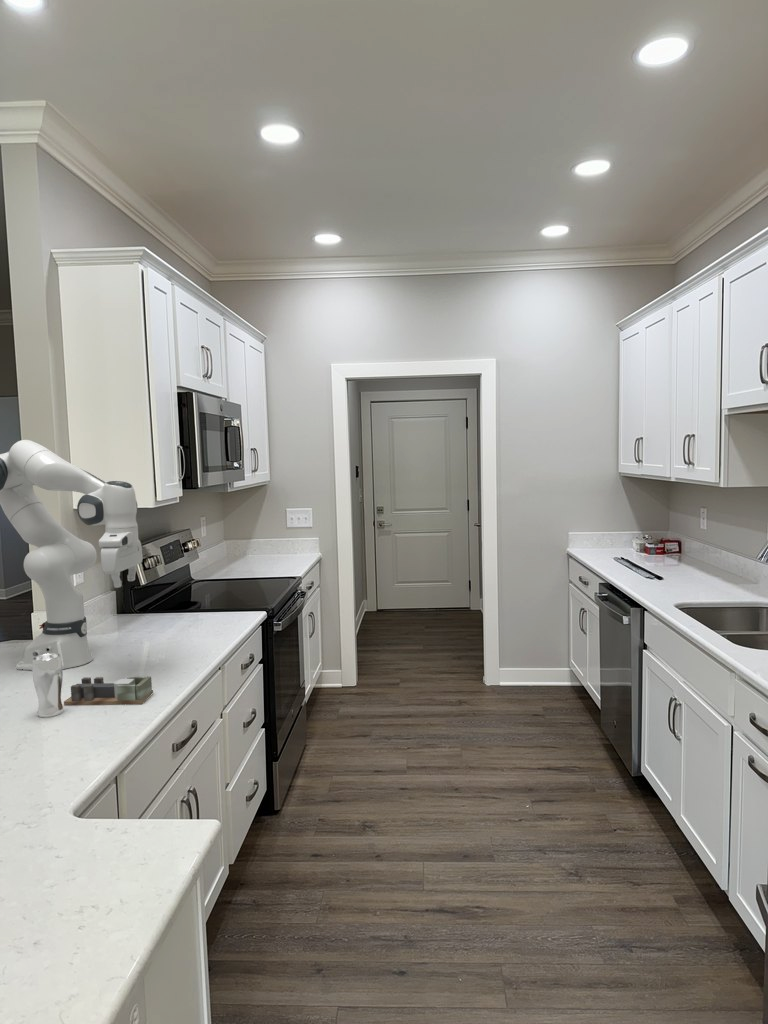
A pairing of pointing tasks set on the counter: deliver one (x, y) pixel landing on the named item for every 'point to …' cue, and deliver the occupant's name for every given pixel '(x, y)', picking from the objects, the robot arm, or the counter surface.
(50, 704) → the beer glass
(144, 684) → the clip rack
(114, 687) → the dark grey square bar
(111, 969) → the counter surface
